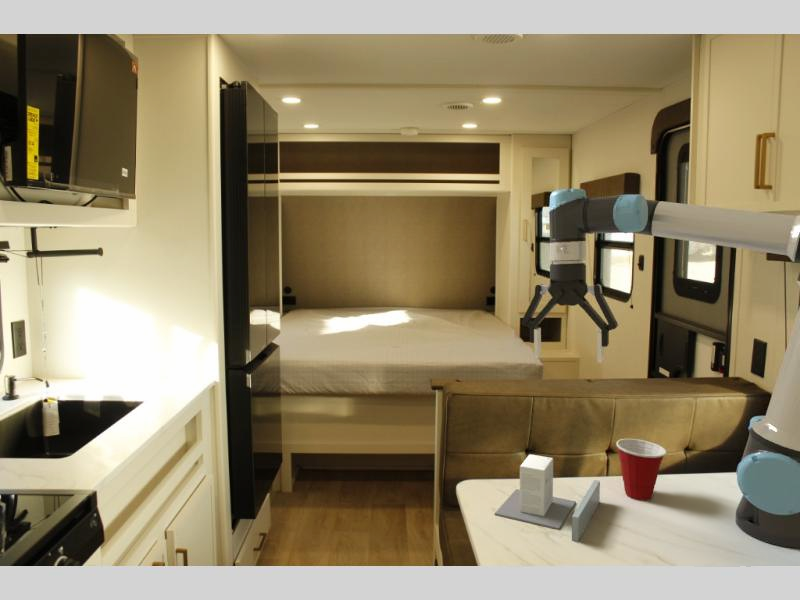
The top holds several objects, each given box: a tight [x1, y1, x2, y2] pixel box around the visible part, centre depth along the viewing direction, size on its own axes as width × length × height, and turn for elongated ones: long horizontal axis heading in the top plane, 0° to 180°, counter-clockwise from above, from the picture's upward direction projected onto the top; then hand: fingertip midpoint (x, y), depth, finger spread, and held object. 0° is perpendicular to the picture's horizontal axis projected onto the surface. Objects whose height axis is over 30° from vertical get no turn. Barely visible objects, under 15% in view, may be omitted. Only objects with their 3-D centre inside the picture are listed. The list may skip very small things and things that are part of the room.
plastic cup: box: [616, 438, 667, 501], centre depth 137 cm, size 11×11×12 cm
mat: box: [494, 488, 577, 531], centre depth 132 cm, size 14×14×1 cm
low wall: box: [571, 479, 601, 543], centre depth 126 cm, size 1×20×5 cm, turn 150°
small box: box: [519, 453, 554, 516], centre depth 131 cm, size 8×6×10 cm
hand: (568, 359), depth 130 cm, fingers open, 13 cm apart
